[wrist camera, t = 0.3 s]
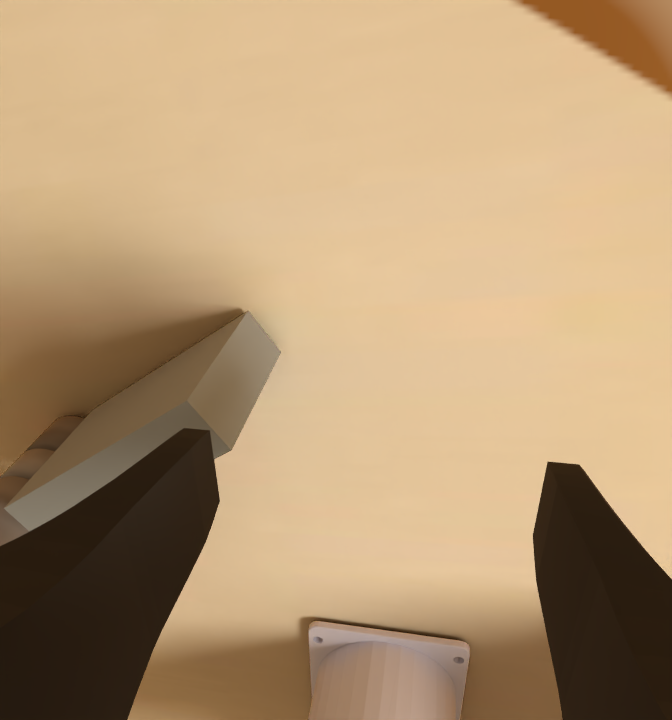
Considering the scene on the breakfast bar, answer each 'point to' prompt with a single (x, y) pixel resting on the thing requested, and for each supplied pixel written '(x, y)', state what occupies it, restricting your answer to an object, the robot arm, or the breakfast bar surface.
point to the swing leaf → (150, 420)
